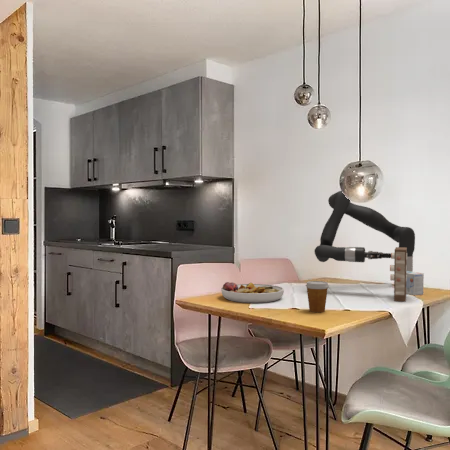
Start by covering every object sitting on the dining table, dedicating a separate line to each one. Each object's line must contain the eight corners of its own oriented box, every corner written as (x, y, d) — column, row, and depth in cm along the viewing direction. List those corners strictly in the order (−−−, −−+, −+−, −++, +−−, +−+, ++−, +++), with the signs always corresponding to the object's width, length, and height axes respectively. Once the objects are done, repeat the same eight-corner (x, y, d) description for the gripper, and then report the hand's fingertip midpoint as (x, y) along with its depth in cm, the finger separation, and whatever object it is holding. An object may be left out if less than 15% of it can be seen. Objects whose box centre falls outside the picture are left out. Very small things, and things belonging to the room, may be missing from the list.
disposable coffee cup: (312, 307, 210) (312, 280, 209) (332, 310, 204) (332, 282, 203) (301, 311, 202) (301, 282, 202) (321, 314, 196) (321, 284, 196)
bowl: (280, 293, 248) (280, 278, 248) (286, 304, 218) (287, 287, 218) (222, 293, 249) (222, 278, 249) (220, 304, 219) (220, 287, 219)
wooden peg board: (395, 295, 241) (395, 247, 240) (406, 296, 239) (406, 247, 238) (394, 301, 225) (394, 249, 224) (405, 302, 223) (406, 250, 223)
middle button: (390, 270, 230) (390, 264, 230) (406, 271, 228) (406, 265, 228) (389, 271, 228) (389, 265, 227) (406, 272, 225) (406, 265, 225)
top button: (391, 258, 239) (391, 252, 239) (407, 259, 237) (407, 252, 237) (391, 259, 237) (391, 252, 237) (407, 259, 234) (407, 253, 234)
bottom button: (390, 279, 235) (390, 273, 235) (406, 280, 232) (406, 274, 232) (390, 280, 232) (390, 274, 232) (406, 281, 230) (406, 275, 230)
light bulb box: (398, 292, 251) (398, 271, 250) (407, 291, 254) (407, 270, 253) (414, 295, 241) (414, 273, 241) (423, 294, 244) (424, 273, 244)
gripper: (353, 248, 238) (390, 249, 232) (356, 246, 250) (392, 247, 244) (353, 263, 238) (390, 264, 232) (356, 260, 251) (391, 262, 244)
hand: (391, 255), depth 238 cm, fingers closed
